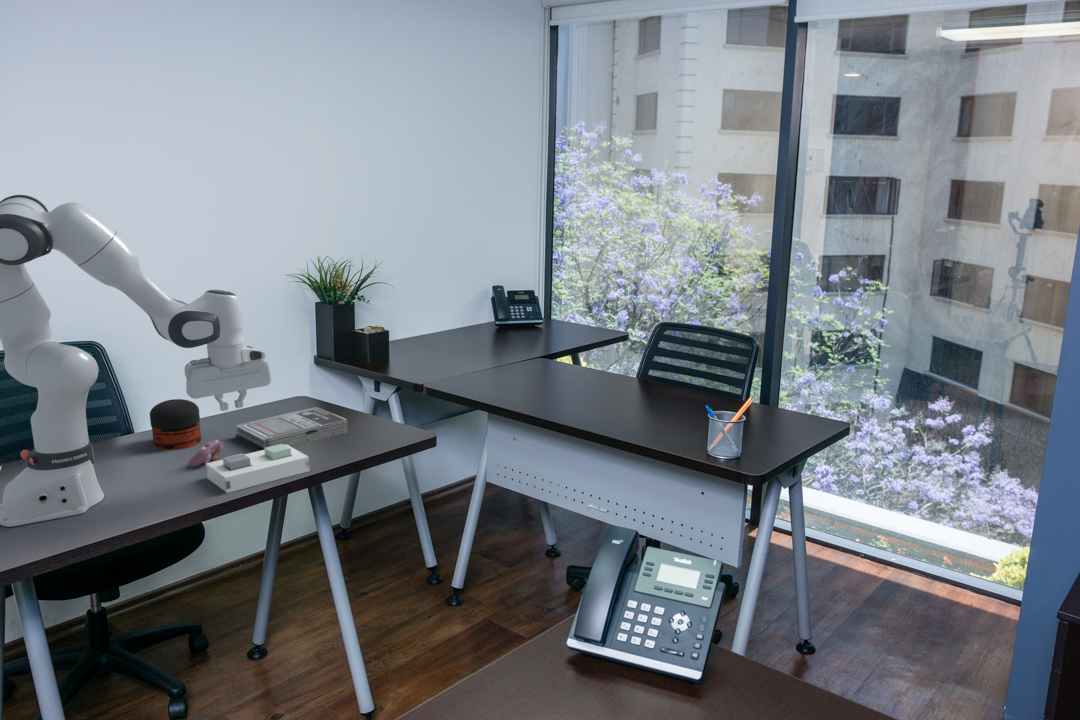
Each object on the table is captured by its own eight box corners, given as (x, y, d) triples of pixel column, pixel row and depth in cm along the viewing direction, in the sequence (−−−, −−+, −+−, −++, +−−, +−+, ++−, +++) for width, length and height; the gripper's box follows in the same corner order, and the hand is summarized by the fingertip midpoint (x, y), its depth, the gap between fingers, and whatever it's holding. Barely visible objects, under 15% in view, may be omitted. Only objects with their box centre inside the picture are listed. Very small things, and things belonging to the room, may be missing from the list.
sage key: (273, 463, 210) (272, 452, 209) (265, 458, 213) (264, 447, 213) (291, 459, 213) (290, 448, 212) (283, 454, 217) (282, 443, 216)
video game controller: (200, 473, 215) (208, 452, 213) (186, 465, 215) (194, 444, 213) (221, 461, 224) (230, 440, 222) (207, 453, 225) (216, 432, 223)
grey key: (231, 474, 203) (230, 462, 202) (223, 468, 206) (222, 457, 206) (250, 469, 206) (250, 458, 205) (243, 464, 210) (242, 453, 209)
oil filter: (144, 443, 234) (167, 453, 226) (140, 403, 231) (162, 411, 223) (187, 432, 243) (210, 441, 236) (183, 393, 241) (206, 401, 233)
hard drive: (236, 439, 239) (234, 425, 238) (318, 420, 257) (317, 406, 256) (265, 455, 226) (264, 440, 225) (349, 433, 245) (348, 419, 244)
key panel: (227, 493, 199) (225, 477, 198) (207, 478, 208) (205, 463, 207) (309, 471, 213) (308, 456, 212) (287, 458, 222) (286, 444, 221)
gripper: (188, 364, 190) (194, 419, 193) (271, 351, 203) (275, 403, 207) (179, 359, 195) (184, 414, 198) (261, 347, 208) (265, 398, 211)
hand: (231, 408), depth 202 cm, fingers open, 2 cm apart
